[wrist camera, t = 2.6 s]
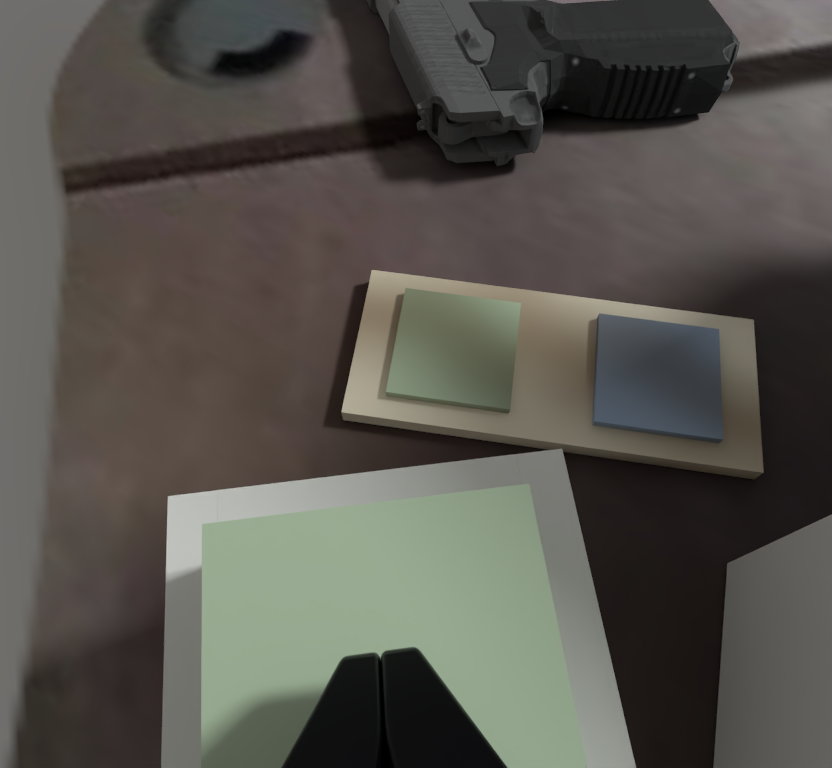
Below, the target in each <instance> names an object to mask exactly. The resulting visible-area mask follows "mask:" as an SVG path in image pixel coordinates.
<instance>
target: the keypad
mask: <svg viewBox="0 0 832 768" xmlns="http://www.w3.org/2000/svg"><path fill="white" fill-rule="evenodd" d="M521 484H529V486H530V491H531V496H532V500H533V505H534V510H535V515H536V520H537V525H538V530H539V535H540V539H541V544H542V549H543V554H544V559H545V564H546V569H547V574H548V579H549V583H550V588H551V593H552V598H553V603H554V608H555V613H556V618H557V622H558V627H559V632H560V637H561V642H562V647H563V652H564V657H565V661H566V666H567V671H568V676H569V681H570V686H571V691H572V696H573V700H574V705H575V710H576V715H577V720H578V725H579V730H580V735H581V740H582V744H583V749H584V754H585V759H586V764H587V768H636V765H635V761H634V757H633V752H632V748H631V744H630V739H629V735H628V731H627V726H626V722H625V718H624V713H623V709H622V705H621V700H620V696H619V692H618V687H617V683H616V679H615V674H614V670H613V666H612V661H611V657H610V653H609V649H608V644H607V640H606V636H605V631H604V627H603V623H602V618H601V614H600V610H599V605H598V601H597V597H596V592H595V588H594V584H593V579H592V575H591V571H590V566H589V562H588V558H587V553H586V549H585V545H584V540H583V536H582V532H581V527H580V523H579V519H578V515H577V510H576V506H575V502H574V497H573V493H572V489H571V484H570V480H569V476H568V471H567V467H566V463H565V458H564V454H563V450H562V449H555V450H546V451H538V452H530V453H522V454H512V455H504V456H496V457H487V458H479V459H471V460H463V461H454V462H446V463H438V464H430V465H421V466H413V467H405V468H397V469H388V470H380V471H372V472H364V473H355V474H347V475H339V476H331V477H322V478H314V479H306V480H298V481H289V482H281V483H273V484H265V485H256V486H248V487H240V488H232V489H223V490H216V491H208V492H200V493H191V494H183V495H175V496H168V513H167V552H166V592H165V631H164V671H163V710H162V749H161V768H201V646H202V524H206V523H214V522H222V521H231V520H239V519H247V518H255V517H263V516H271V515H279V514H287V513H295V512H303V511H311V510H319V509H327V508H336V507H344V506H352V505H360V504H368V503H376V502H384V501H392V500H400V499H408V498H416V497H424V496H432V495H441V494H449V493H457V492H465V491H473V490H481V489H489V488H497V487H505V486H513V485H521ZM713 768H832V514H831V515H829V516H827V517H825V518H823V519H821V520H819V521H817V522H814V523H812V524H810V525H808V526H806V527H804V528H802V529H800V530H797V531H795V532H793V533H791V534H789V535H787V536H785V537H783V538H780V539H778V540H776V541H774V542H772V543H770V544H768V545H765V546H763V547H761V548H759V549H757V550H755V551H753V552H751V553H748V554H746V555H744V556H742V557H740V558H738V559H736V560H734V561H731V562H729V563H727V576H726V590H725V605H724V620H723V634H722V649H721V663H720V678H719V692H718V707H717V722H716V736H715V751H714V765H713Z"/></svg>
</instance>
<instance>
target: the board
mask: <svg viewBox="0 0 832 768" xmlns="http://www.w3.org/2000/svg"><path fill="white" fill-rule="evenodd" d="M341 413H342V417H343V420H346V421H353V422H360V423H367V424H374V425H381V426H388V427H395V428H402V429H409V430H416V431H423V432H430V433H436V434H443V435H450V436H457V437H464V438H471V439H478V440H485V441H492V442H499V443H506V444H513V445H520V446H527V447H534V448H541V449H547V450H555V449H562V450H563V452H568V453H575V454H582V455H589V456H596V457H603V458H610V459H617V460H624V461H631V462H638V463H645V464H652V465H658V466H665V467H672V468H679V469H686V470H693V471H700V472H707V473H714V474H721V475H728V476H735V477H742V478H749V479H755V478H757V477H758V476H760V475H761V474H763V473H764V470H763V454H762V439H761V424H760V408H759V393H758V377H757V362H756V346H755V331H754V320H753V319H745V318H737V317H730V316H722V315H714V314H707V313H699V312H691V311H684V310H676V309H668V308H661V307H653V306H645V305H638V304H630V303H622V302H614V301H607V300H599V299H591V298H584V297H576V296H568V295H561V294H553V293H545V292H538V291H530V290H522V289H515V288H507V287H499V286H492V285H484V284H476V283H469V282H461V281H453V280H446V279H438V278H430V277H423V276H415V275H407V274H400V273H392V272H384V271H377V270H372V272H371V277H370V281H369V286H368V291H367V295H366V300H365V305H364V309H363V314H362V318H361V323H360V328H359V332H358V337H357V342H356V346H355V351H354V355H353V360H352V365H351V369H350V374H349V379H348V383H347V388H346V392H345V397H344V402H343V406H342V411H341Z"/></svg>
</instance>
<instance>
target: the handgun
mask: <svg viewBox="0 0 832 768" xmlns="http://www.w3.org/2000/svg"><path fill="white" fill-rule="evenodd" d="M366 1H367V3H368V5H369V7H370V9H371V11H372V12H374V13H379V14H380V16H381V18H382V20H383V22H384V25H385V27H386V29H387V31H388V33H389V42H390V52H391V55H392V57H393V59H394V61H395V63H396V65H397V68H398V70H399V72H400V74H401V76H402V78H403V80H404V83H405V85H406V87H407V89H408V91H409V93H410V96H411V98H412V100H413V102H414V104H415V106H416V108H417V112H418V116H419V115H420V117H421V119H422V120H420V121H418V122H417V129H418V131H419V130H427V132H428V134H429V136H430V137H431V138H432V139H433V140H434V141H435V142H436V143H438V144H439V145H440V147H441V148H442V150H443V152H444V155H445V157H446V159H447V160H450V161H452V162H455V163H466V162H482V161H493V160H494V161H495V163H496V165H497V166H499V165H503V164H507V163H508V162H509V161H510V160H511V159H512V158H513V157H514V156H515V155H518V154H523V153H529V152H532V153H535V151H536V149H537V148H538V146H539V142H540V139H541V136H542V132H543V115H542V113H543V112H545V111H547V110H549V109H555V108H556V109H561V110H565V111H570V112H574V113H581V114H585V115H588V116H591V117H598V116H602V117H604V118H610V117H614V118H620V119H621V117H624V118H625V119H630V118H635V119H642V117H645V118H646V119H649V118H658V117H663V116H666V117H674V116H682V115H690V114H698V113H707V112H709V111H710V109H711V108H712V106H713V105H714V103H715V101H716V100H717V98H718V97H719V95H720V94H721V92H726V91H727V90H728V89H729V88H730V86H731V84H732V81H733V77H732V75H731V74H730V70H731V68H732V66H733V64H734V61H735V59H736V56H737V52H738V48H739V44H740V43H739V41H738V39H737V37H736V36H735V35H734V34H733V33H732V30H731V29H730V28H729V27H728V25H727V24H726V23H725V21H724V20H723V19H722V17H721V16H720V15H719V13H718V12H717V11H716V9H715V8H714V7H713V6H712V4H711V3H710V2H709V0H614V1H598V2H583V3H566V4H561V3H557V2H552V1H548V0H366Z"/></svg>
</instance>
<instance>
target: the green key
mask: <svg viewBox="0 0 832 768" xmlns="http://www.w3.org/2000/svg"><path fill="white" fill-rule="evenodd" d="M407 647H416V648H418V649H419V650H420V651H421V652H422V653H423V655H424V656H425V657H426V659H427V660H428V662H429V663H430V664H431V666H432V667H433V668H434V670H435V671H436V672H437V674H438V675H439V676H440V678H441V679H442V680H443V682H444V683H445V684H446V686H447V687H448V688H449V690H450V691H451V692H452V694H453V695H454V696H455V698H456V699H457V700H458V702H459V703H460V704H461V706H462V707H463V708H464V710H465V711H466V712H467V714H468V715H469V716H470V718H471V719H472V720H473V722H474V723H475V724H476V726H477V727H478V728H479V730H480V731H481V733H482V734H483V735H484V737H485V738H486V739H487V741H488V742H489V743H490V745H491V746H492V747H493V749H494V750H495V751H496V753H497V754H498V755H499V757H500V758H501V759H502V761H503V762H504V763H505V765H506V766H507V767H508V768H587V764H586V759H585V754H584V749H583V744H582V740H581V735H580V730H579V725H578V720H577V715H576V710H575V705H574V700H573V696H572V691H571V686H570V681H569V676H568V671H567V666H566V661H565V657H564V652H563V647H562V642H561V637H560V632H559V627H558V622H557V618H556V613H555V608H554V603H553V598H552V593H551V588H550V583H549V579H548V574H547V569H546V564H545V559H544V554H543V549H542V544H541V539H540V535H539V530H538V525H537V520H536V515H535V510H534V505H533V500H532V496H531V491H530V486H529V484H521V485H513V486H505V487H497V488H489V489H481V490H473V491H465V492H457V493H449V494H441V495H432V496H424V497H416V498H408V499H400V500H392V501H384V502H376V503H368V504H360V505H352V506H344V507H336V508H327V509H319V510H311V511H303V512H295V513H287V514H279V515H271V516H263V517H255V518H247V519H239V520H231V521H222V522H214V523H206V524H202V646H201V768H281V767H282V765H283V763H284V761H285V760H286V758H287V756H288V754H289V752H290V751H291V749H292V747H293V745H294V743H295V741H296V740H297V738H298V736H299V734H300V732H301V731H302V729H303V727H304V725H305V723H306V721H307V720H308V718H309V716H310V714H311V712H312V711H313V709H314V707H315V705H316V703H317V702H318V700H319V698H320V696H321V694H322V692H323V691H324V689H325V687H326V685H327V683H328V682H329V680H330V678H331V676H332V674H333V672H334V671H335V669H336V667H337V665H338V663H339V662H340V660H341V659H342V658H343V657H345V656H348V655H356V654H363V653H370V652H375V653H377V654H378V655H379V656H380V659H381V655H382V653H383V652H384V651H386V650H392V649H400V648H407Z"/></svg>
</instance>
